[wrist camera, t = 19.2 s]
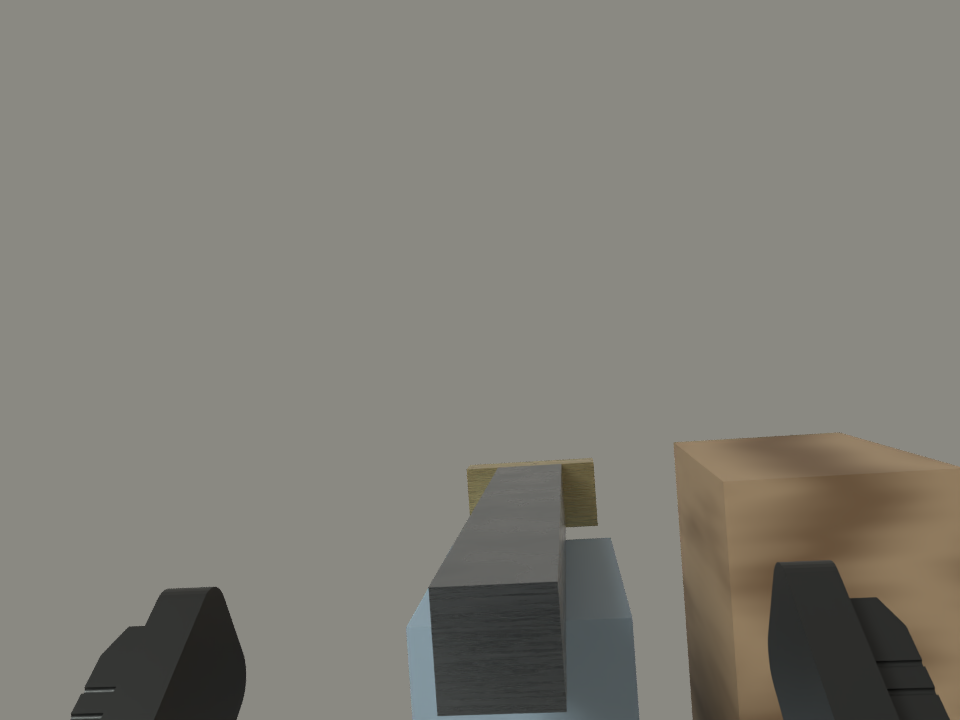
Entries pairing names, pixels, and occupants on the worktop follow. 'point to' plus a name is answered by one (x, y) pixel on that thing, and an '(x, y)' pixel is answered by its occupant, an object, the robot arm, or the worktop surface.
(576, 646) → the light blue tall block
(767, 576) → the brown wooden tall block
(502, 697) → the grey and tan bar
